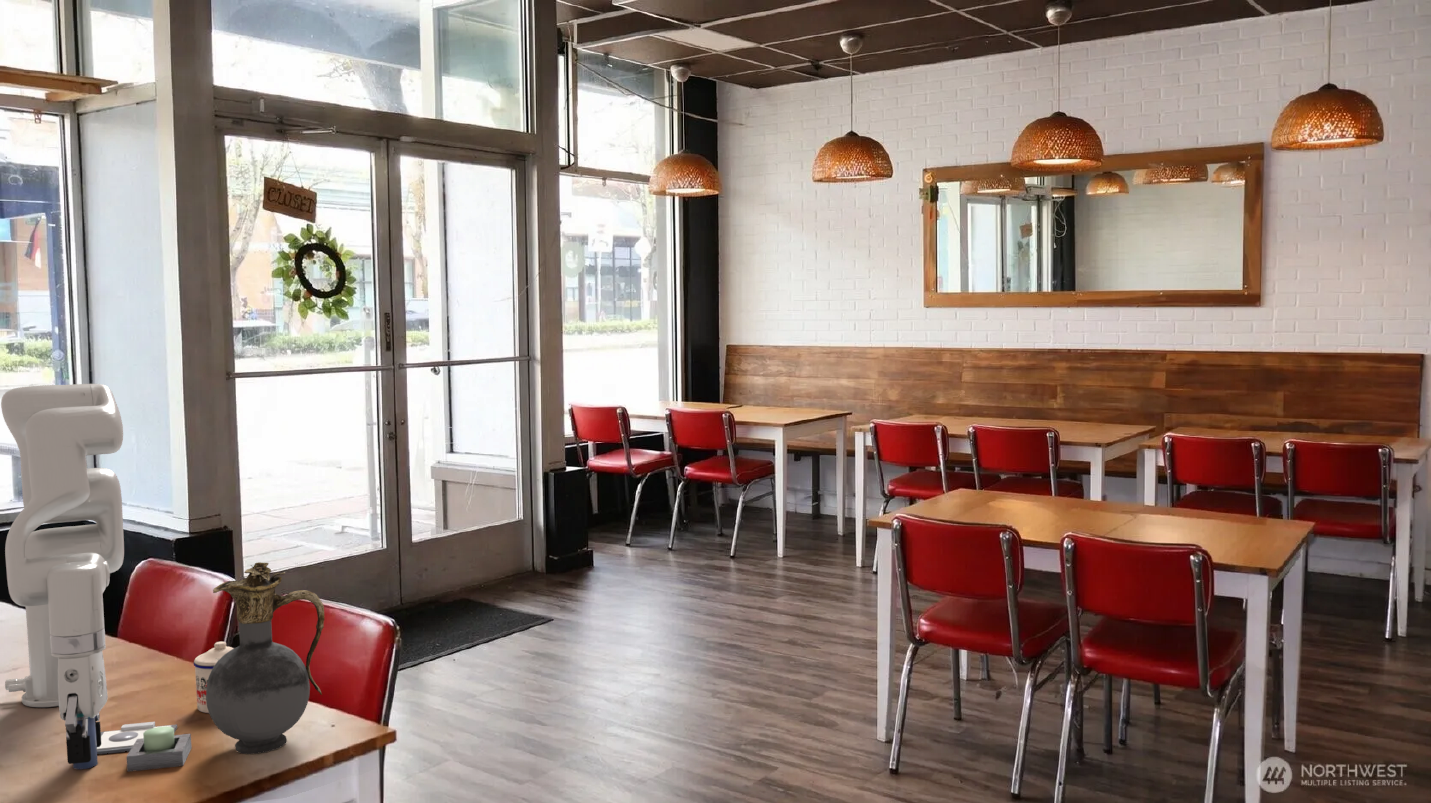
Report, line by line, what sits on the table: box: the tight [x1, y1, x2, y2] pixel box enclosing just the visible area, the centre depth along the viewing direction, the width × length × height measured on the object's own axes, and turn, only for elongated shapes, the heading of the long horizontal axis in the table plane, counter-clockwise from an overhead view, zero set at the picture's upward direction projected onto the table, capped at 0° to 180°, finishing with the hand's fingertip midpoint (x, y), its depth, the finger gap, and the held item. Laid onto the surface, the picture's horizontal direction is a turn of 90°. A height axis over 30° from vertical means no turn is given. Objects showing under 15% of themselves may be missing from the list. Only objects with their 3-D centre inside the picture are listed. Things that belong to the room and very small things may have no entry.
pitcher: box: [206, 561, 325, 755], centre depth 195 cm, size 11×19×30 cm, turn 127°
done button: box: [143, 726, 175, 752], centre depth 190 cm, size 4×4×3 cm
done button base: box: [126, 733, 192, 773], centre depth 190 cm, size 8×8×2 cm
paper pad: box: [97, 721, 178, 755], centre depth 199 cm, size 12×10×1 cm
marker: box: [72, 713, 99, 770], centre depth 188 cm, size 4×4×10 cm
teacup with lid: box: [193, 641, 235, 714], centre depth 215 cm, size 12×9×12 cm
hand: (84, 753), depth 188 cm, fingers open, 5 cm apart
